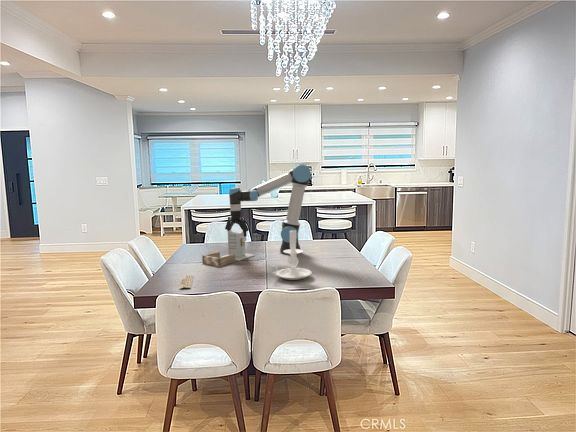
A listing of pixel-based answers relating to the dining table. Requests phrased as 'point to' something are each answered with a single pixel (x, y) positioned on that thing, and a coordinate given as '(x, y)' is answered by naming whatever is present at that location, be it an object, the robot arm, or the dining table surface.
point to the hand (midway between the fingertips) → (237, 240)
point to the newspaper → (186, 281)
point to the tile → (241, 257)
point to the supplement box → (236, 244)
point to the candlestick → (292, 263)
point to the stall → (217, 259)
